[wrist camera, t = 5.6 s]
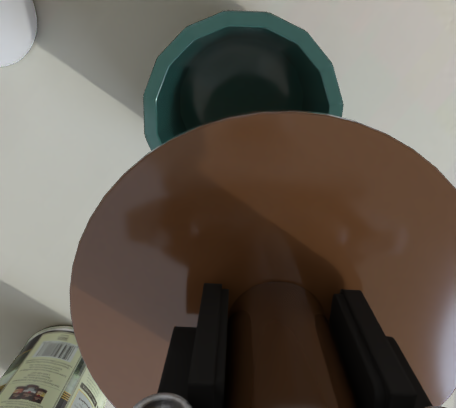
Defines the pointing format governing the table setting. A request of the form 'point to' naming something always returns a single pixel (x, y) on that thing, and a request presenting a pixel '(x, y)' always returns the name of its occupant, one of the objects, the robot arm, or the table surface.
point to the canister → (236, 74)
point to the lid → (269, 258)
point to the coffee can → (50, 374)
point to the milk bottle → (16, 30)
